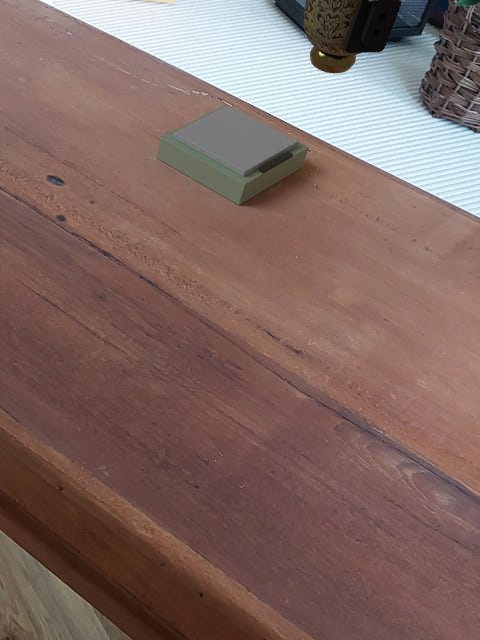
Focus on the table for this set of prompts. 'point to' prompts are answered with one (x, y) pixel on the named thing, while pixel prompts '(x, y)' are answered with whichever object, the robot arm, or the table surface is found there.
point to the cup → (329, 33)
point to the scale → (232, 153)
